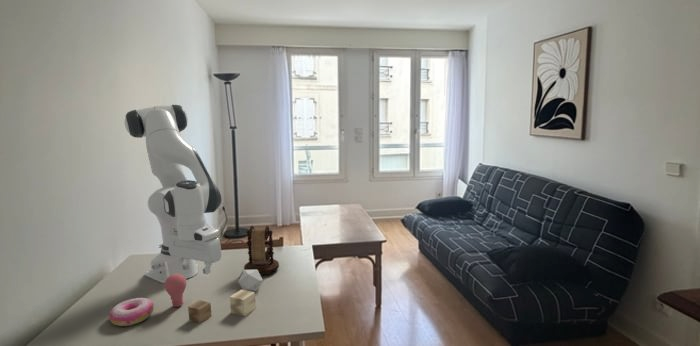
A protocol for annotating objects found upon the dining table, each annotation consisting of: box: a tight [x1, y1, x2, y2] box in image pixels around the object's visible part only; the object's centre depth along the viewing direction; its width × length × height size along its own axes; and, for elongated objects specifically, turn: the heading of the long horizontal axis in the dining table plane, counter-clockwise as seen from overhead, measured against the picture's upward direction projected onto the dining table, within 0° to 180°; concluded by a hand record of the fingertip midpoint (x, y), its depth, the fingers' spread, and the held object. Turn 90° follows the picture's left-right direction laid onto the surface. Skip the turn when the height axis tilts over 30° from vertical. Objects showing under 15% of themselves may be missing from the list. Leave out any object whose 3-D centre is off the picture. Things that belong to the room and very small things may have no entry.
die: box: [238, 269, 263, 292], centre depth 156 cm, size 8×9×10 cm
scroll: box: [243, 225, 280, 276], centre depth 174 cm, size 15×15×20 cm
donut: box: [109, 297, 155, 327], centre depth 137 cm, size 14×13×5 cm
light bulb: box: [164, 274, 187, 308], centre depth 144 cm, size 7×7×12 cm
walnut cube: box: [187, 299, 212, 324], centre depth 136 cm, size 5×5×5 cm
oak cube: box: [229, 288, 257, 317], centre depth 140 cm, size 6×6×6 cm
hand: (196, 271), depth 133 cm, fingers open, 8 cm apart
